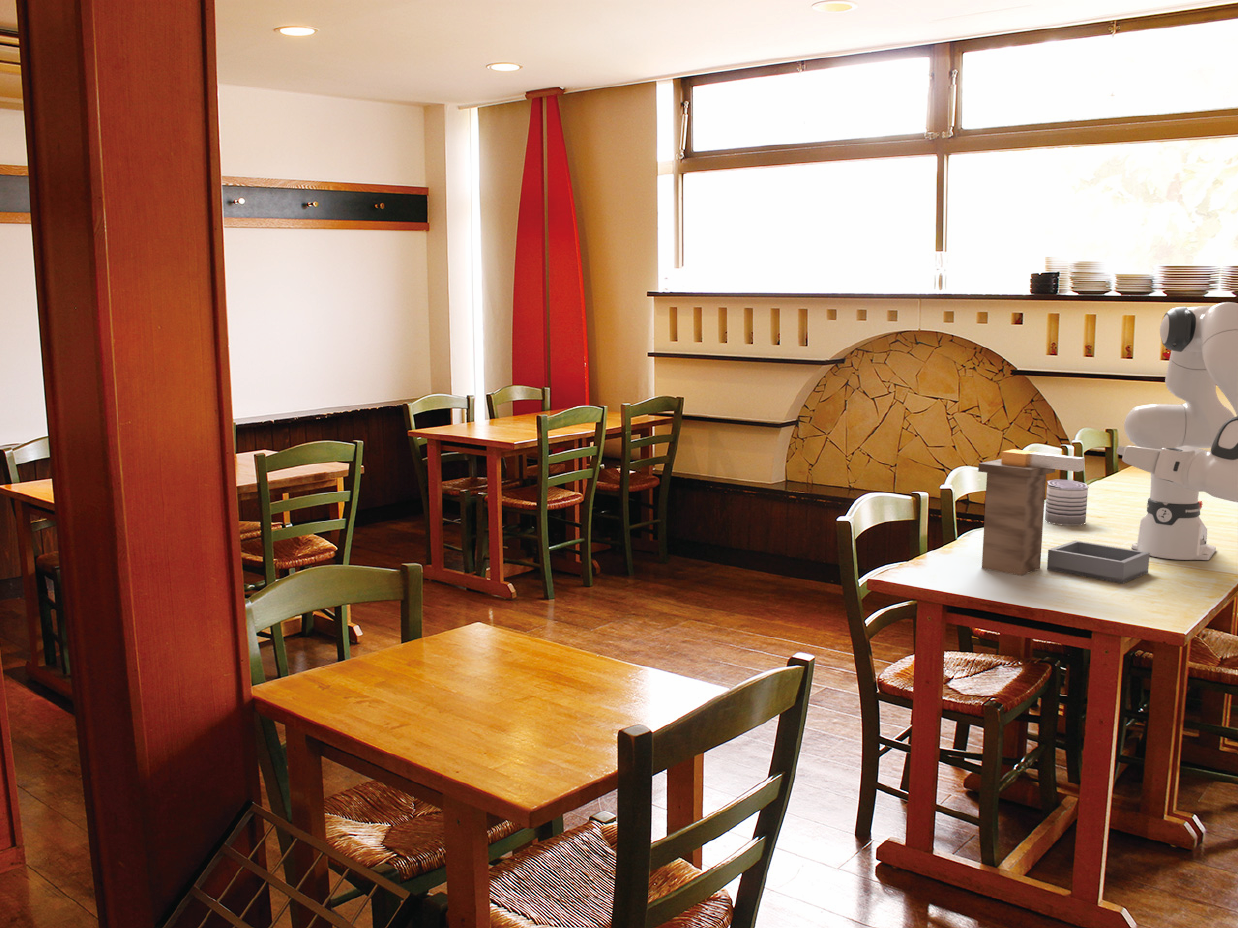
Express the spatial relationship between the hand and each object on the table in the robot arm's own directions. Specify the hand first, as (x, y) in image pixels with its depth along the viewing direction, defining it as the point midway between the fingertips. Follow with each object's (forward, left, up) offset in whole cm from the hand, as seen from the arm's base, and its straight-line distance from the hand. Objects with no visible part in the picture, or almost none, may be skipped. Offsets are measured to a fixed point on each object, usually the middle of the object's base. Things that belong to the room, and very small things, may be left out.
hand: (1132, 451), depth 236 cm
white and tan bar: (+1, -20, -6) cm, 20 cm away
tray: (-12, -11, -32) cm, 35 cm away
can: (-65, -43, -32) cm, 84 cm away
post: (+1, -26, -32) cm, 41 cm away
